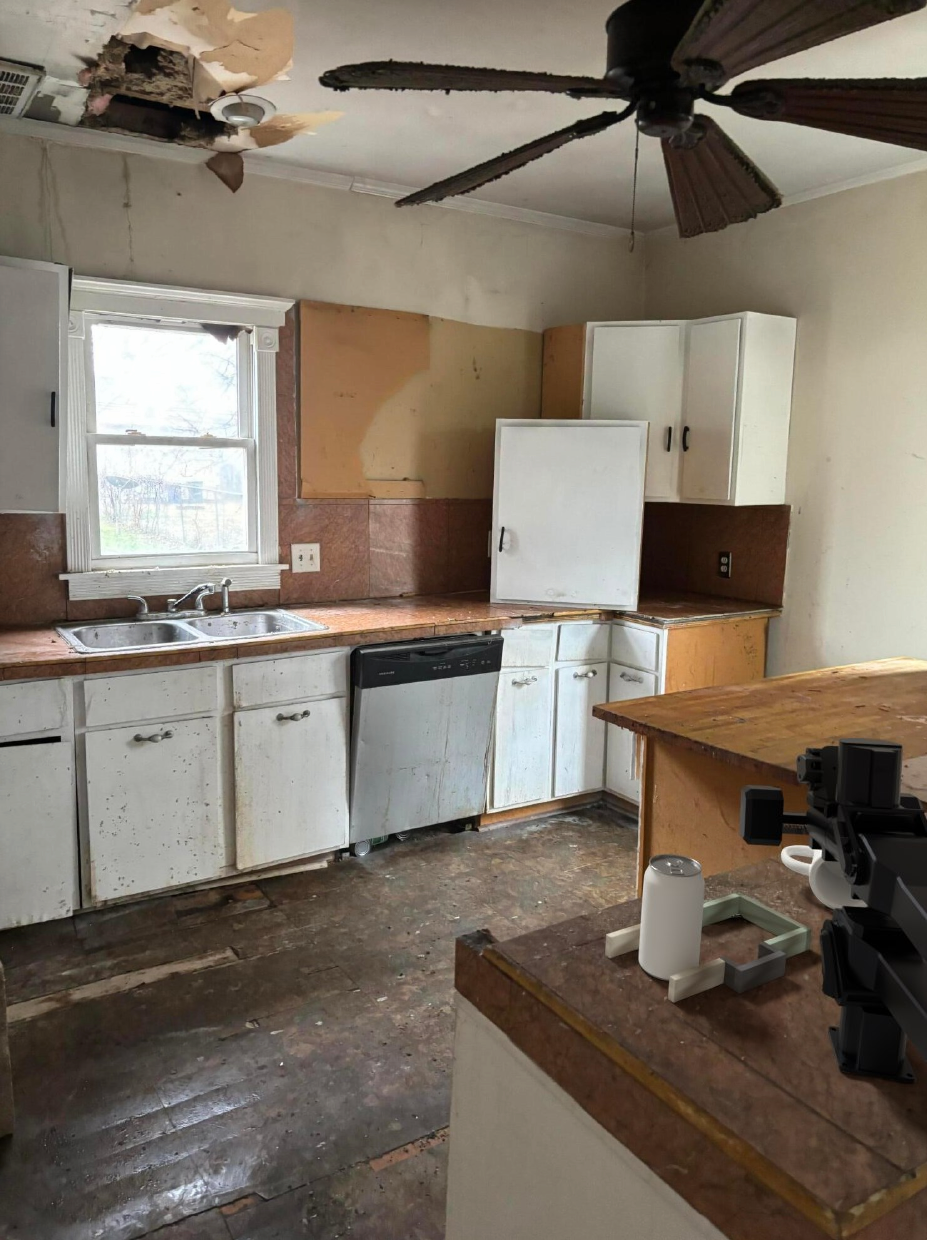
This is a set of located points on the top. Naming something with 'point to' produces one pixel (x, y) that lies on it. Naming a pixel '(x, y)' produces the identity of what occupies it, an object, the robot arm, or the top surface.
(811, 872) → the mug
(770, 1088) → the top surface
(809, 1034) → the top surface
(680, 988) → the channel
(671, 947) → the can
